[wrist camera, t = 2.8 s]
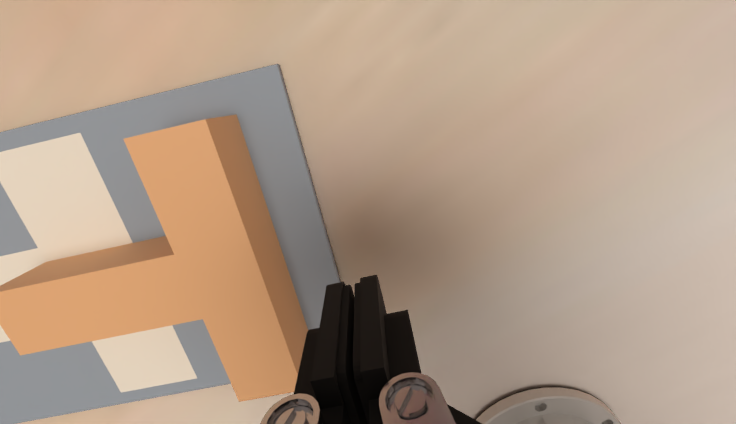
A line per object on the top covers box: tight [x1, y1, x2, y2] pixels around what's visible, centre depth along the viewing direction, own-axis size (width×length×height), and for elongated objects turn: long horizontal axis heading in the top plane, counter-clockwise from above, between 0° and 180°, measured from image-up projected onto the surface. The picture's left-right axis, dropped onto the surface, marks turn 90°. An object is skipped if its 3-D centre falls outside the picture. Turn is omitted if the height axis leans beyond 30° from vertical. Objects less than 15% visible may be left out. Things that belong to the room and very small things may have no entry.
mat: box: [0, 64, 340, 424], centre depth 23 cm, size 20×30×1 cm, turn 103°
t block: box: [0, 114, 308, 402], centre depth 21 cm, size 16×15×4 cm
